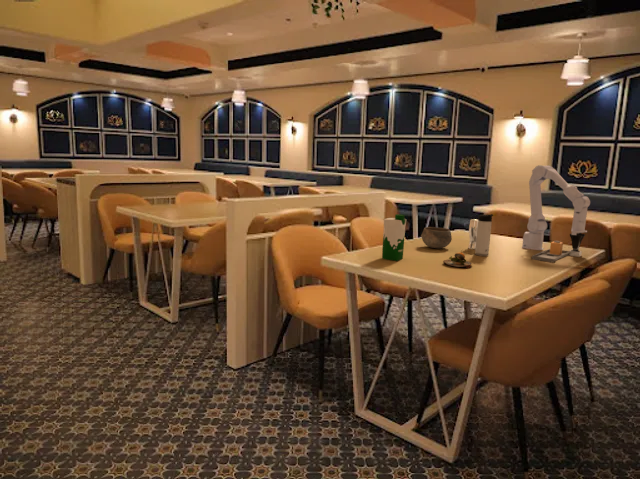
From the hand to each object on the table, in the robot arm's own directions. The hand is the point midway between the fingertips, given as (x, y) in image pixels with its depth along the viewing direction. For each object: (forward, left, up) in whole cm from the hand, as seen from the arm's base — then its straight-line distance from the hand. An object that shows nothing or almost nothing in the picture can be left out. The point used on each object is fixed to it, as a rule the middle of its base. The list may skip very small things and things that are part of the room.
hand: (575, 248), depth 246 cm
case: (-8, -5, -4) cm, 10 cm away
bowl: (-57, -37, -4) cm, 68 cm away
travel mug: (-33, -36, -4) cm, 49 cm away
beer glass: (-43, -22, -4) cm, 48 cm away
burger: (-30, -69, -5) cm, 75 cm away
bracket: (0, 0, -4) cm, 4 cm away
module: (-8, -5, -4) cm, 10 cm away
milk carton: (-56, -80, -4) cm, 98 cm away
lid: (-8, -19, -4) cm, 21 cm away
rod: (0, 0, -2) cm, 2 cm away
